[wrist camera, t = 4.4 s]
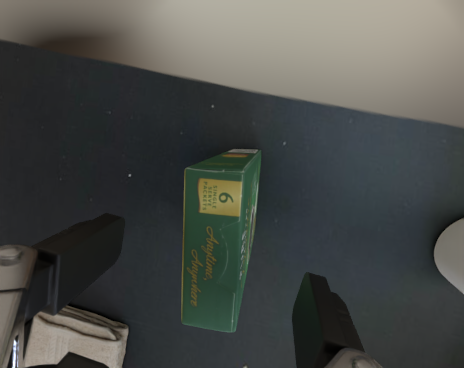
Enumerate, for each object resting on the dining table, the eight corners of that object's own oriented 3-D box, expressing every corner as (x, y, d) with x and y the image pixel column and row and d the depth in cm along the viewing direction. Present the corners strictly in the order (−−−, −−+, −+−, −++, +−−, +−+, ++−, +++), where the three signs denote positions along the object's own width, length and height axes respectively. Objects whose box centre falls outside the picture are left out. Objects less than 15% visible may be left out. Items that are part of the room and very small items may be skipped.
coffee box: (230, 143, 24) (179, 165, 11) (263, 146, 23) (248, 171, 10) (225, 228, 25) (176, 330, 13) (255, 231, 25) (235, 341, 12)
